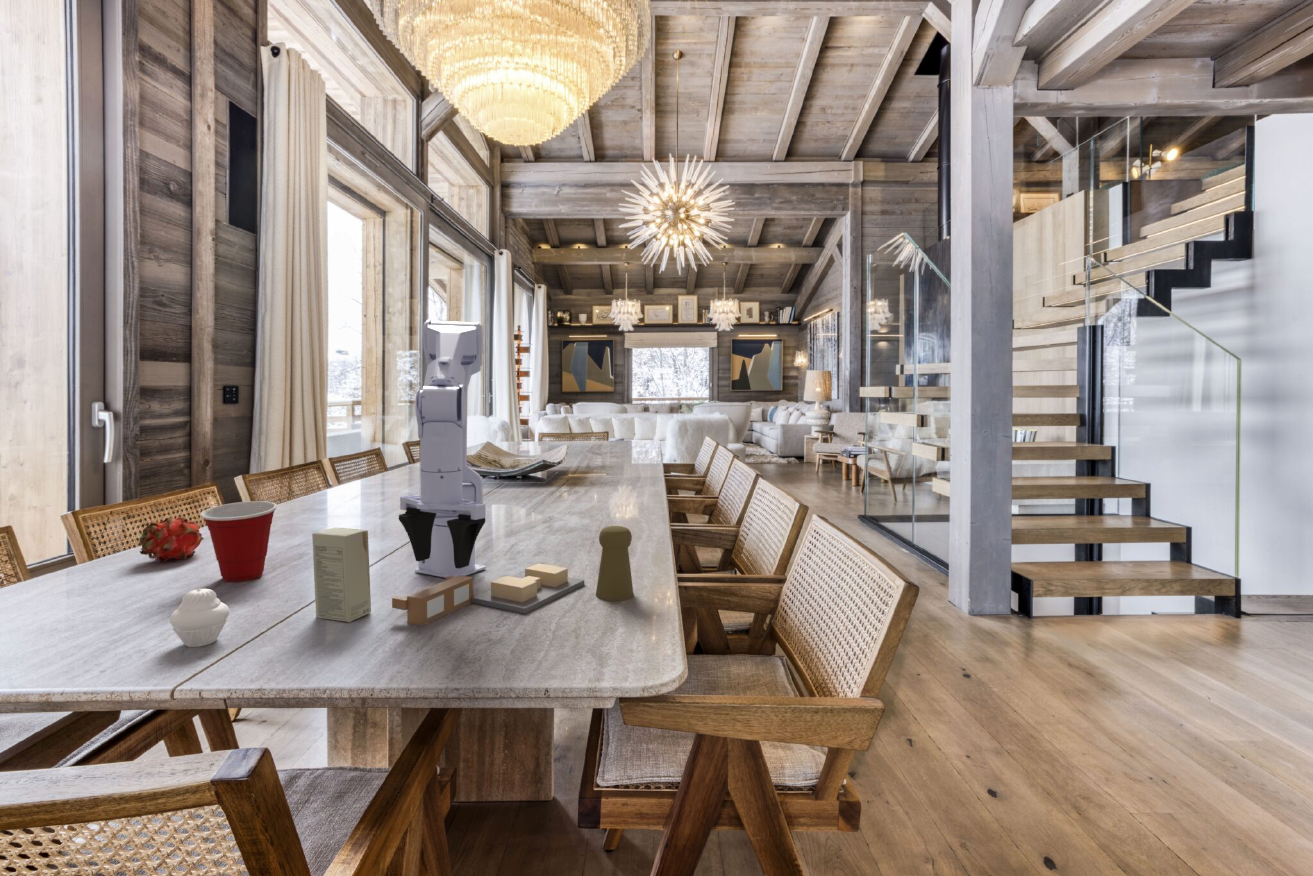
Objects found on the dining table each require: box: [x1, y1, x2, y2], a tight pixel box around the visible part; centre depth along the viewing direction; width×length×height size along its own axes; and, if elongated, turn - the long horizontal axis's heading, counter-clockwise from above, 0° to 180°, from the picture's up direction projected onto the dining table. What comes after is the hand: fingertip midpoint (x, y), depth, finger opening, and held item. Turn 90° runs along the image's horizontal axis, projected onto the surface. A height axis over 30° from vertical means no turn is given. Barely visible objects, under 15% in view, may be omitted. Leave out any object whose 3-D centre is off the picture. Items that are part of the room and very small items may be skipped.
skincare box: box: [311, 527, 372, 623], centre depth 92 cm, size 6×4×12 cm
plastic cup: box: [199, 500, 278, 583], centre depth 108 cm, size 11×11×12 cm
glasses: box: [391, 575, 474, 627], centre depth 95 cm, size 5×12×4 cm, turn 158°
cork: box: [595, 525, 634, 602], centre depth 103 cm, size 6×6×11 cm
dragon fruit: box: [139, 516, 204, 563], centre depth 119 cm, size 8×8×12 cm
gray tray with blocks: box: [472, 562, 585, 615], centre depth 103 cm, size 10×16×3 cm, turn 154°
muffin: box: [169, 587, 230, 648], centre depth 81 cm, size 6×6×7 cm
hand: (442, 563), depth 94 cm, fingers open, 7 cm apart
